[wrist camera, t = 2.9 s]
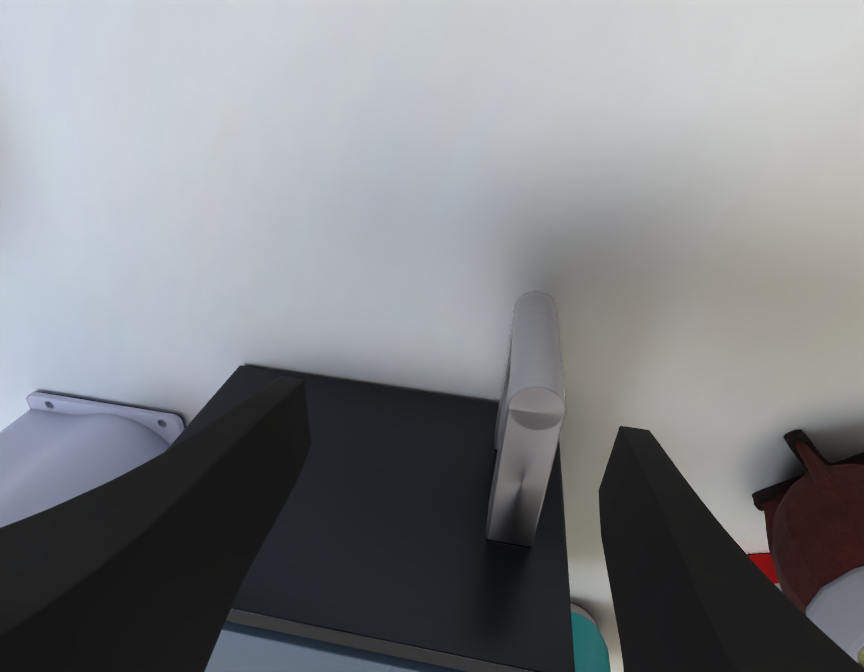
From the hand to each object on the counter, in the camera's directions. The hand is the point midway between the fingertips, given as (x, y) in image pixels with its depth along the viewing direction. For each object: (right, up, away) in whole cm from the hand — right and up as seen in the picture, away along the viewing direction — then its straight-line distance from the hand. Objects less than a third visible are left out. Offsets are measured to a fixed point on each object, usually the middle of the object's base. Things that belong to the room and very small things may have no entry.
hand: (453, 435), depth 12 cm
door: (-2, +2, +11) cm, 12 cm away
